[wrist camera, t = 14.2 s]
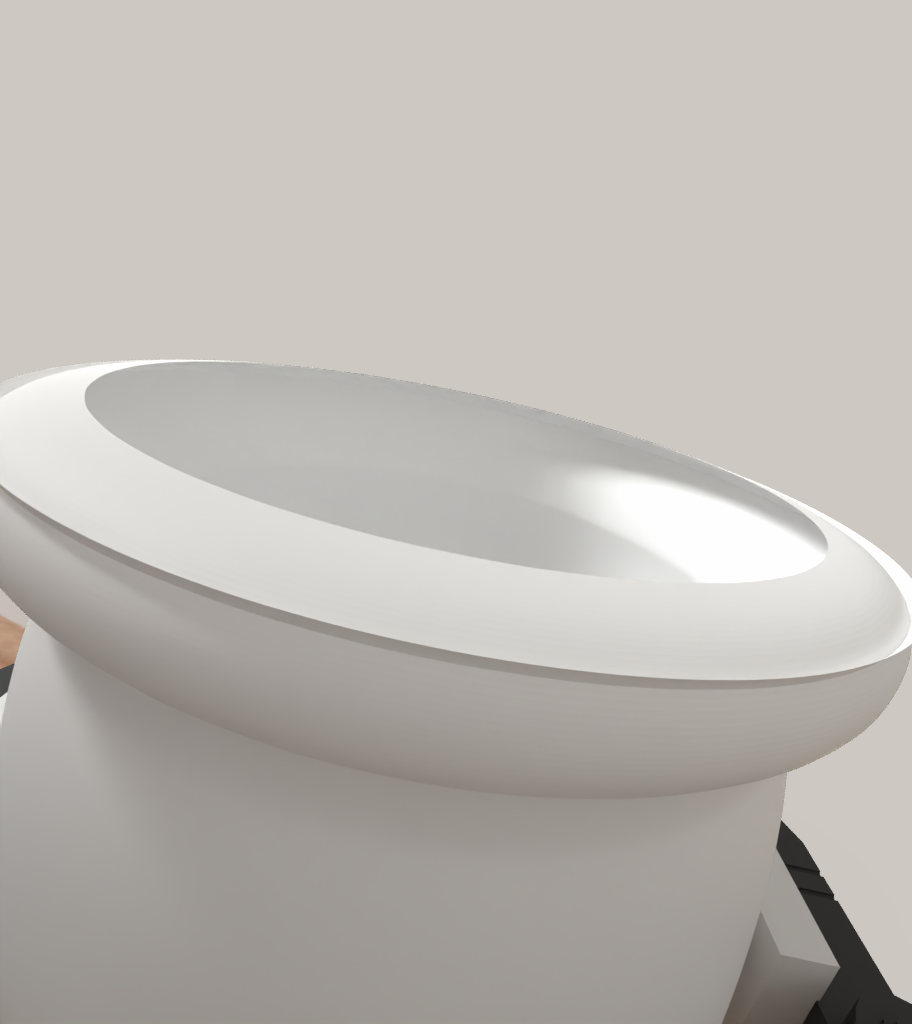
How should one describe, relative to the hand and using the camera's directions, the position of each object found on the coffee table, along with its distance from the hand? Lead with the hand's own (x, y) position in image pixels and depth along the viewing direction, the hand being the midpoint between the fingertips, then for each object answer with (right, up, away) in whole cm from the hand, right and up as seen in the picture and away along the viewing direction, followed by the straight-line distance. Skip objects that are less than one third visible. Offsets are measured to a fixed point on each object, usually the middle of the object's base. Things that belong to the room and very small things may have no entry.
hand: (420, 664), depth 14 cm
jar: (-2, -9, -1) cm, 10 cm away
